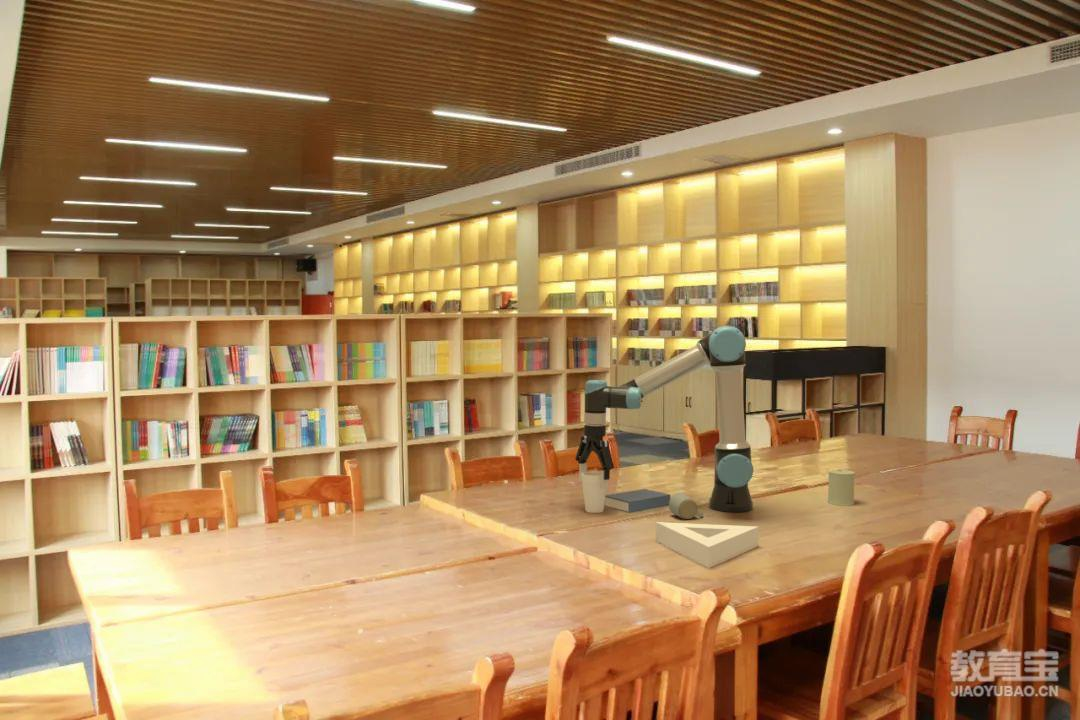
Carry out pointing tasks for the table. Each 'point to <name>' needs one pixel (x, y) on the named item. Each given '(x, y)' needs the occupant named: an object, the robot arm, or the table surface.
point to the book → (637, 500)
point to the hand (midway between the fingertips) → (593, 485)
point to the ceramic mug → (683, 506)
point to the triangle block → (707, 540)
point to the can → (841, 487)
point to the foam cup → (593, 492)
